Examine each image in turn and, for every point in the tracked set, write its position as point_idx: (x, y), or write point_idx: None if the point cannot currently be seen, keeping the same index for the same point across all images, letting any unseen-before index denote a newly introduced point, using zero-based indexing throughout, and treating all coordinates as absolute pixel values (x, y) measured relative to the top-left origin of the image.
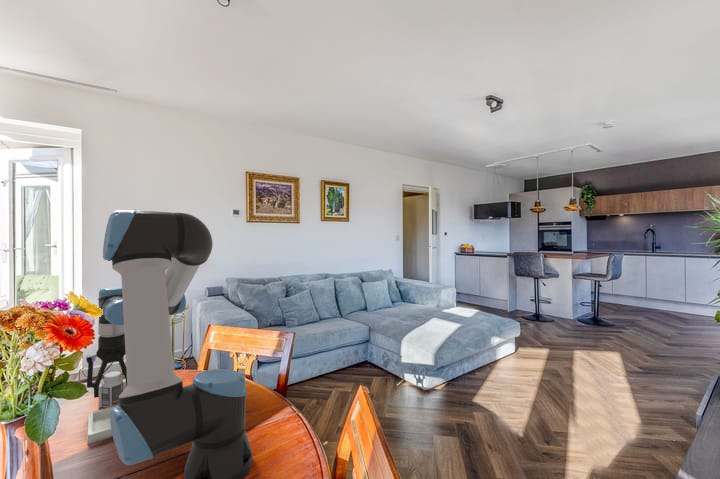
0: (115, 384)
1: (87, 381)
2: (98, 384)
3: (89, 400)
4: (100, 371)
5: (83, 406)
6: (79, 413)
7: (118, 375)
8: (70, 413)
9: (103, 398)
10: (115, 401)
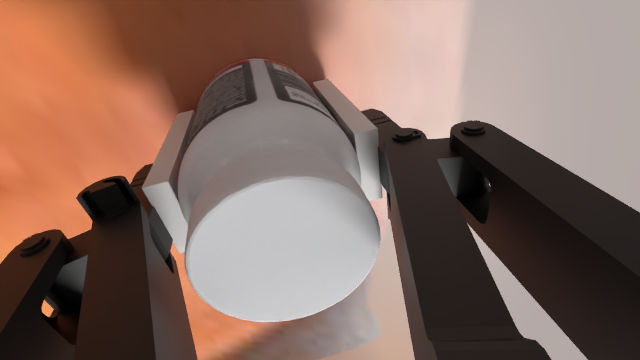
0: (224, 122)
1: (529, 148)
2: (394, 147)
3: (381, 200)
4: (468, 253)
5: None
6: (414, 60)
7: (196, 215)
8: (452, 83)
9: (313, 93)
10: (227, 70)
